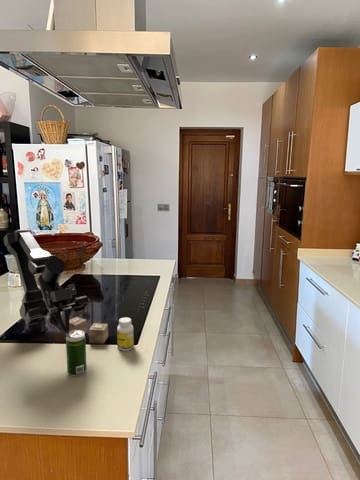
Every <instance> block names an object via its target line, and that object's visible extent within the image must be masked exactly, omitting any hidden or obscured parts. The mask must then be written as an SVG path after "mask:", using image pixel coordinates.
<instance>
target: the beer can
mask: <svg viewBox="0 0 360 480" xmlns="http://www.w3.org/2000/svg"><path fill="white" fill-rule="evenodd" d="M85 334H86V333H85ZM85 334H84V332H83V331H82V330H73V331H70V332H68V333H67V334H66V336H65V346H66V347H65V350H66V366H67V367H66V368H67V369H66V370H67V374H68V375H69V376H70V377H75V378H76V377H78V378H79V377H81V376H82V375H84V374H85V373H86V372H87V367H88V366H87V348H86V347H87V346H86V342H87V341H86V335H85Z"/></svg>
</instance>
